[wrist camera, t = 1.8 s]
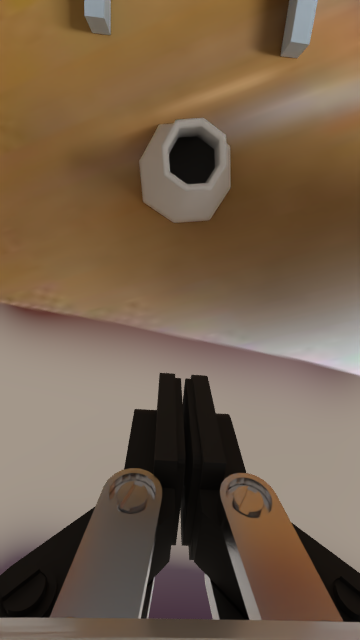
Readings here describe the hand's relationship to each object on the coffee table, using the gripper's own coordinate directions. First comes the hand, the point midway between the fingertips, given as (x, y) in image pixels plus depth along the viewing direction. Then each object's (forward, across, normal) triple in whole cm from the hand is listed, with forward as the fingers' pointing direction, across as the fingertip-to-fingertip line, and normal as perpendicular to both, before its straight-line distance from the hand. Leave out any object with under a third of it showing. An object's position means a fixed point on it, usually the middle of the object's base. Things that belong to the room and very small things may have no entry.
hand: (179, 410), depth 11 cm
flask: (+17, 0, -9) cm, 19 cm away
